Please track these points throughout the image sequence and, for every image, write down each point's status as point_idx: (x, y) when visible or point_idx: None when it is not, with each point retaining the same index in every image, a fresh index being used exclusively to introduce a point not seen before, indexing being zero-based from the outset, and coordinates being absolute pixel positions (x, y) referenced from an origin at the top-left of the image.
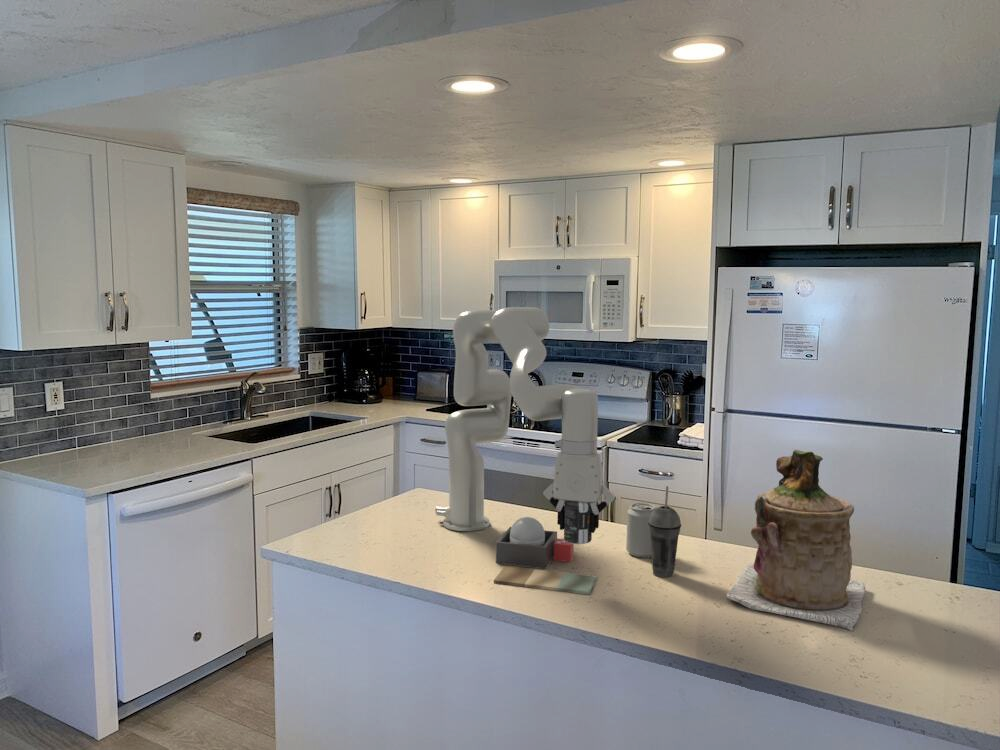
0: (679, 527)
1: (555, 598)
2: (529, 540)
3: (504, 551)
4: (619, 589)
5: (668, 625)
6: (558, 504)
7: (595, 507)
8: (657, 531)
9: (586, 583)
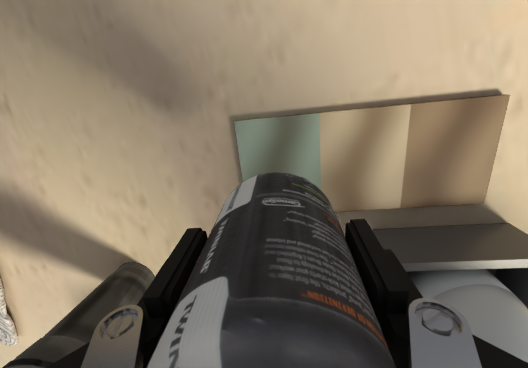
0: None
1: (308, 60)
2: (455, 288)
3: (511, 243)
4: (183, 177)
5: (6, 14)
6: (466, 358)
7: (99, 361)
8: (57, 352)
9: (255, 169)
